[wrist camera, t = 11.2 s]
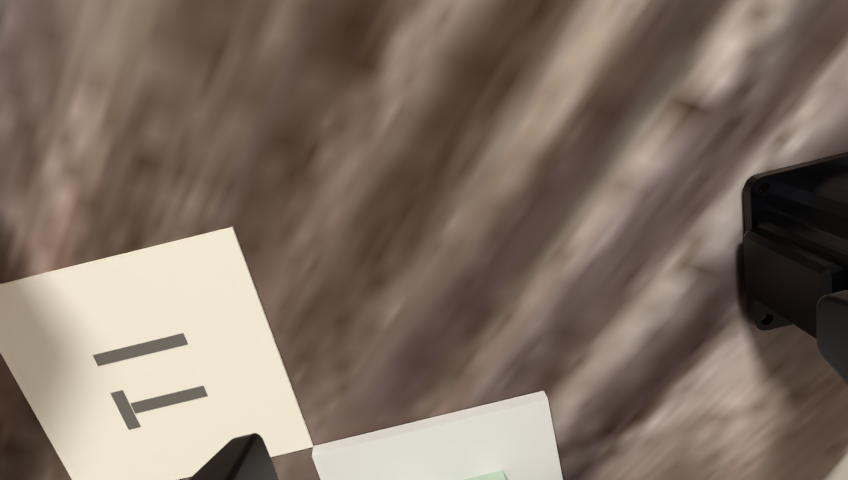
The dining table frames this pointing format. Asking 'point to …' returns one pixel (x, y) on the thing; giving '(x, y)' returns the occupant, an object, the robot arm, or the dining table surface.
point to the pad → (452, 446)
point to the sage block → (490, 476)
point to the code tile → (150, 360)
